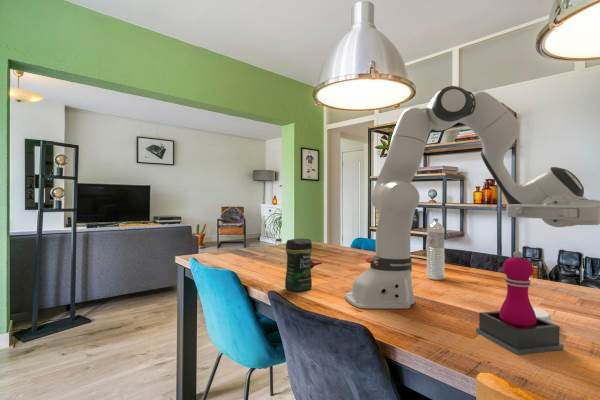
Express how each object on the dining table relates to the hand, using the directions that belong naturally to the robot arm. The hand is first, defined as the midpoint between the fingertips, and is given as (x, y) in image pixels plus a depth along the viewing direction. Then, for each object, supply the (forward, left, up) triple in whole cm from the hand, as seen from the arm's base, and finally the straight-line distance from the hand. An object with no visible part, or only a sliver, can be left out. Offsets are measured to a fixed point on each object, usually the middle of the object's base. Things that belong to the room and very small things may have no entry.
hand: (539, 212), depth 82 cm
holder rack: (-11, -5, -30) cm, 32 cm away
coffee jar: (-53, +47, -30) cm, 77 cm away
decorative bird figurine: (-45, +69, -30) cm, 88 cm away
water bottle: (+6, +51, -30) cm, 60 cm away
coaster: (+1, +4, -30) cm, 31 cm away
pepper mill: (-11, -5, -29) cm, 31 cm away
